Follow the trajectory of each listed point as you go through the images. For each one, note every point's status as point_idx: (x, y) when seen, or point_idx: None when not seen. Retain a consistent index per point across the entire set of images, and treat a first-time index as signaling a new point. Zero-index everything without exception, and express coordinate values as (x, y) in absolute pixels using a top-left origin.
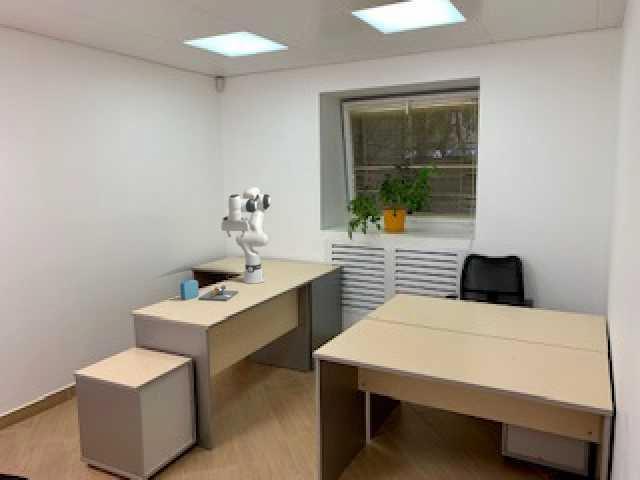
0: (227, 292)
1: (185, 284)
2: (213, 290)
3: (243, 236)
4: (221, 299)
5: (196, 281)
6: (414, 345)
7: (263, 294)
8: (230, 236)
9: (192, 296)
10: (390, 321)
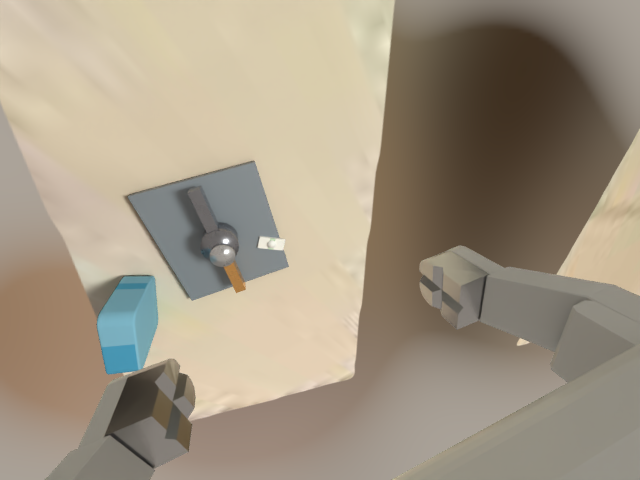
0: (230, 201)
1: (142, 366)
2: (144, 202)
3: (468, 253)
4: (272, 270)
5: (135, 321)
6: (608, 278)
7: (355, 137)
8: (175, 383)
9: (154, 302)
10: (617, 210)
